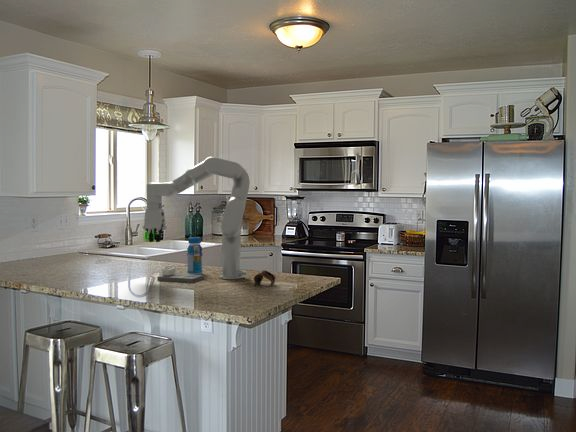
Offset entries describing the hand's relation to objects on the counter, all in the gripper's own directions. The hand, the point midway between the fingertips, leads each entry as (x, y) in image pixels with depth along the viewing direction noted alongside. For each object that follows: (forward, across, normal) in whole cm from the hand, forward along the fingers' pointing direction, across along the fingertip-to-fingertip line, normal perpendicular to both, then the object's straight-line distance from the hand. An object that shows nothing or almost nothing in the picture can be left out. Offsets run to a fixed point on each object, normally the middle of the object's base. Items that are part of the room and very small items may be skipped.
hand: (154, 241), depth 270 cm
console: (+19, -15, 0) cm, 24 cm away
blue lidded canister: (+19, -13, -19) cm, 30 cm away
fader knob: (+17, -8, 0) cm, 19 cm away
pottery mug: (+20, -60, +2) cm, 64 cm away
